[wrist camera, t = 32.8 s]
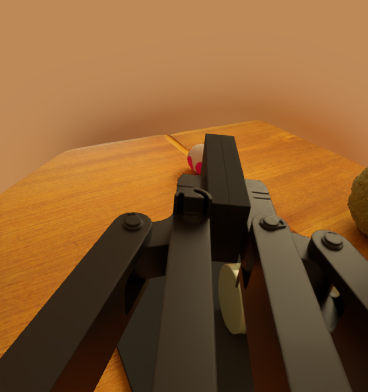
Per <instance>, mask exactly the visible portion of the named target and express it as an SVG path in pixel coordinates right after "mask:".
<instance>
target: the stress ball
mask: <svg viewBox="0 0 368 392" xmlns="http://www.w3.org/2000/svg"><path fill="white" fill-rule="evenodd" d="M203 150H204V144H199V145H196V146H194V147H193V148H192V149H191V150H190V151H189V153H188V157H187V160H188V164H189V166H190V167H191V169H192V170H193V171H195V172H196V174H200V172H201V165H202V157H203ZM196 174H194V175H196Z"/></svg>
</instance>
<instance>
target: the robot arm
mask: <svg viewBox="0 0 368 392" xmlns="http://www.w3.org/2000/svg"><path fill="white" fill-rule="evenodd" d="M239 254H240V259H241V264H240V268H239V272H238V275H237V279H236V283H235V287H236V288H238V285H239V282H240V288H241V295H242V303H243V310H244V317H245V325H246V332H247V339H248V347H249V354H250V362H251V369H252V376H253V384H254V391H255V392H368V261H367V260H366V259H365V258H364V257H363V256H362V255H361V254H360V252H359V251H358V250H357V249H356V248H355V247H354V246H353V245H352V244H351V243H350V242H349V241H348V240H347V239H346V238H344V237H343V236H341V235H339V234H337V233H335V232H332V231H328V230H318V231H315V232H314V233H313V234H312V236H311V238H309V237H306V236H302V235H299V234H296V233H294V232H291V231H290V229H289V226H288V224H287V223H286V221H284V220H283V219H282V218H280V217H278V216H277V215H276V212H275V209H274V206H273V203H272V201H271V198H270V195H269V192H268V189H267V187H266V186H265V185H264V184H263V183H262V182H261V181H260V180H250V179H244V175H243V171H242V167H241V163H240V159H239V155H238V151H237V147H236V143H235V139H234V136H226V135H216V134H206V135H205V142H204V150H203V157H202V165H201V172H200V175H191V174H182V175H181V176H180V177H179V178H178V183H177V191H176V194H175V196H174V208H173V214H172V215H171V216H170V217H169V218H167V219H165V220H162V221H156V222H152V221H151V219H150V218H149V217H148V216H146V215H144V214H141V213H135V212H132V213H125V214H122V215H120V216H119V217H117V218H116V219H115V220H114V221H113V222H112V224H111V225H110V226H109V227H108V228H107V230H106V231H105V232H104V233H103V235H102V236H101V237H100V238H99V239H98V241H97V242H96V243H95V244H94V245H93V247H92V248H91V249H90V250H89V252H88V253H87V254H86V255H85V256H84V258H83V259H82V260H81V261H80V262H79V264H78V265H77V266H76V267H75V269H74V270H73V271H72V272H71V273H70V275H69V276H68V277H67V278H66V279H65V281H64V282H63V283H62V284H61V286H60V287H59V288H58V289H57V290H56V292H55V293H54V294H53V295H52V296H51V298H50V299H49V300H48V301H47V303H46V304H45V305H44V306H43V307H42V309H41V310H40V311H39V312H38V313H37V315H36V316H35V317H34V318H33V320H32V321H31V322H30V323H29V324H28V326H27V327H26V328H25V329H24V330H23V332H22V333H21V334H20V335H19V337H18V338H17V339H16V340H15V341H14V343H13V344H12V345H11V346H10V347H9V349H8V350H7V351H6V352H5V354H4V355H3V356H2V357H1V358H0V392H94V390H95V388H96V386H97V384H98V382H99V380H100V378H101V376H102V374H103V372H104V370H105V368H106V366H107V364H108V362H109V360H110V358H111V357H112V355H113V353H114V351H115V349H116V347H117V345H118V343H119V341H120V339H121V337H122V335H123V333H124V331H125V329H126V327H127V325H128V323H129V321H130V319H131V317H132V315H133V313H134V311H135V309H136V307H137V305H138V303H139V301H140V299H141V297H142V295H143V293H144V292H145V290H146V288H147V286H148V284H149V281H150V278H156V277H162V276H165V283H164V291H163V299H162V307H161V315H160V324H159V332H158V340H157V348H156V356H155V364H154V372H153V380H152V388H151V392H218V390H217V369H216V347H215V326H214V304H213V283H212V261H216V262H226V263H236V264H237V262H238V258H239ZM333 287H335V288H336V290H337V291H338V292H339V296H337V295H336V294H335V293H334V292H333V290H332V289H333Z"/></svg>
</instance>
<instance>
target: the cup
mask: <svg viewBox="0 0 368 392" xmlns="http://www.w3.org/2000/svg"><path fill="white" fill-rule="evenodd" d="M240 264H241V263H237V264H236V263H231V264H224V265H223V266H222V268H221V270H220V274H219V282H218V291H219V301H220V307H221V312H222V316H223V319H224V322H225V324H226V326H227V328H228V330H229V331H230V332H231V333H232V334H247V332H246V325H245V317H244V310H243V303H242V295H241V288H240V282H239V285H238V288H236V287H235V283H236V279H237V275H238V272H239V268H240ZM332 290H333V292H334V293H335V294H336V295H337V296H339V292H338V291H337V290H336V288H335V287H333V289H332Z"/></svg>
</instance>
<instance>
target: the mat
mask: <svg viewBox="0 0 368 392" xmlns="http://www.w3.org/2000/svg"><path fill="white" fill-rule="evenodd" d="M237 263H241V259H240V254H239V258H238V262H237ZM224 264H231V263H226V262H216V261H212V283H213V304H214V326H215V347H216V369H217V390H218V392H255V391H254V384H253V376H252V369H251V362H250V354H249V347H248V339H247V334H232V333H231V332H230V331H229V330H228V328H227V326H226V324H225V322H224V319H223V316H222V312H221V307H220V301H219V291H218V282H219V274H220V270H221V268H222V266H223V265H224ZM164 283H165V276H162V277H156V278H150V281H149V284H148V286H147V288H146V290H145V292H144V293H143V295H142V297H141V299H140V301H139V303H138V305H137V307H136V309H135V311H134V313H133V315H132V317H131V319H130V321H129V323H128V325H127V327H126V329H125V331H124V333H123V335H122V337H121V339H120V341H119V343H118V345H117V350H118V353H119V355H120V358H121V361H122V364H123V367H124V370H125V373H126V376H127V379H128V382H129V385H130V388H131V391H132V392H151V388H152V380H153V372H154V364H155V356H156V348H157V340H158V332H159V324H160V315H161V307H162V299H163V291H164Z"/></svg>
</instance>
